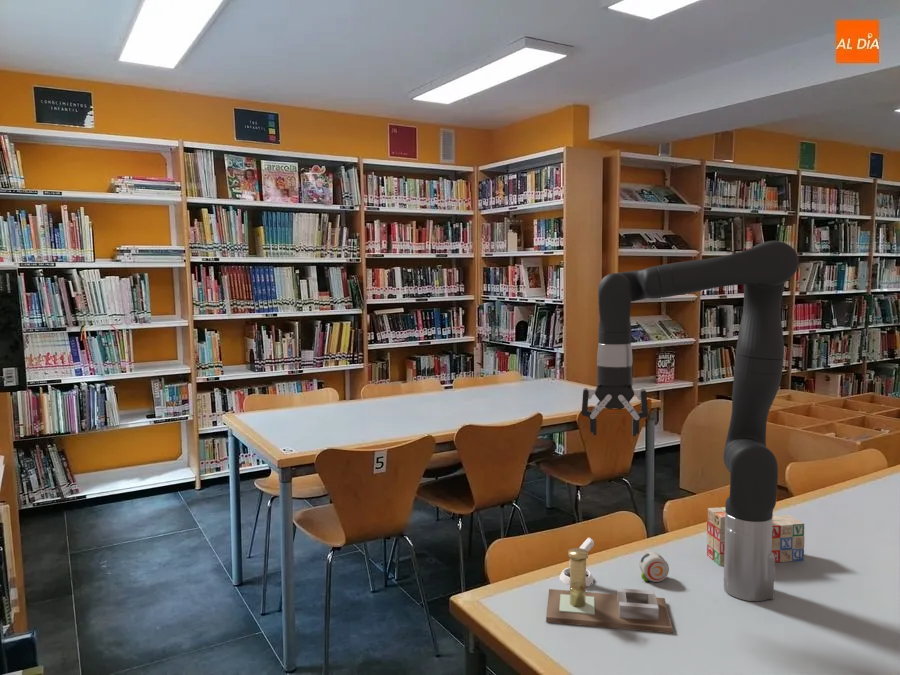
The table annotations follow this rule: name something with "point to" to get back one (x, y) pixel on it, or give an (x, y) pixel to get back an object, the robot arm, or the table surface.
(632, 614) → the walnut board
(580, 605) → the brass peg
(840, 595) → the table surface
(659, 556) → the roller toy
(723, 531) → the stack of blocks
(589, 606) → the sage pad
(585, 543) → the white vr controller
